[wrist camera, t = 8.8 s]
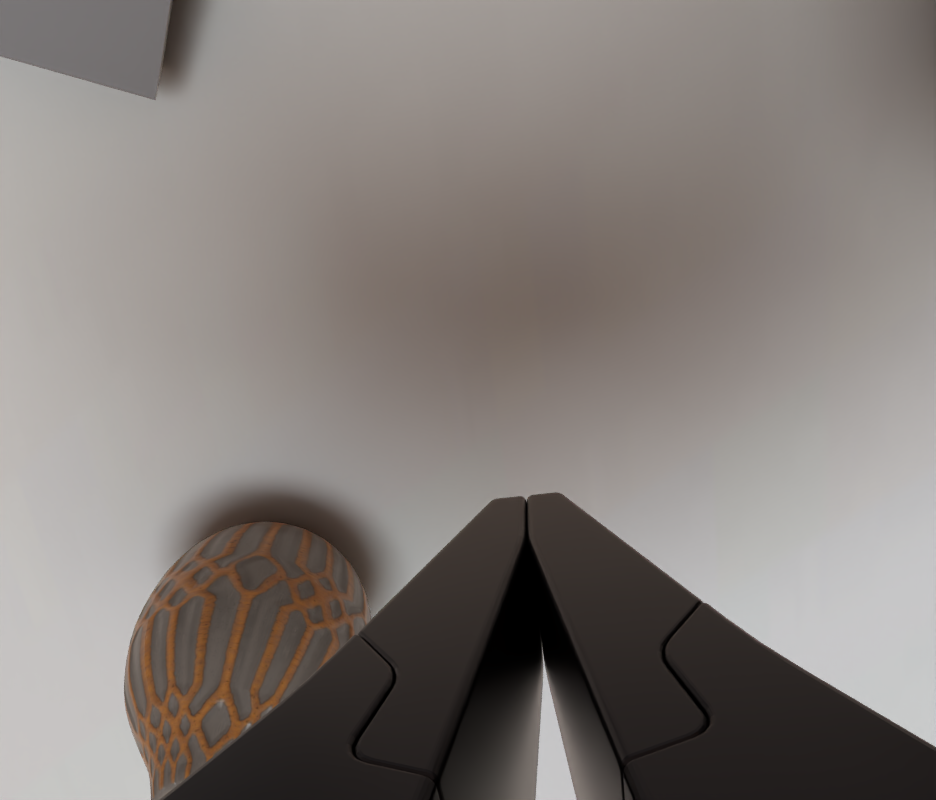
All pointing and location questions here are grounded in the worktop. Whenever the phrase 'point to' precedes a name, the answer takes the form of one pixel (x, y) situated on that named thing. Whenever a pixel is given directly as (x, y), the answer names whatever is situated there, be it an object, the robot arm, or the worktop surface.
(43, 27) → the domino
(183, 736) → the vase
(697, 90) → the worktop surface
